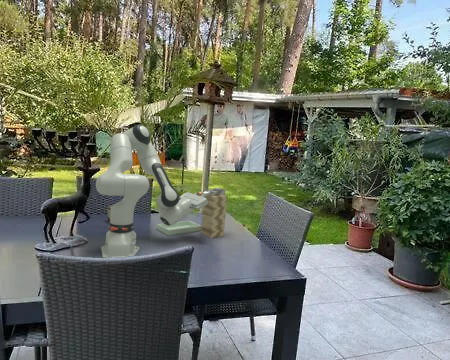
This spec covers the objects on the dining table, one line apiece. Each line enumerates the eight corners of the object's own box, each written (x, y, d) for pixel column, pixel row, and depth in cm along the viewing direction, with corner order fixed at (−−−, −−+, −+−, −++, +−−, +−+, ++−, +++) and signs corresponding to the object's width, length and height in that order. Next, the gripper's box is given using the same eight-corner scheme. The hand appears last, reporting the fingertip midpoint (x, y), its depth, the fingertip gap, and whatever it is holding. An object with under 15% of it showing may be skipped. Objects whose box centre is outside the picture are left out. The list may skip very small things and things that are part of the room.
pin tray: (168, 236, 217) (168, 230, 216) (156, 229, 227) (156, 224, 227) (201, 231, 232) (201, 225, 232) (188, 225, 243) (189, 220, 242)
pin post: (211, 237, 220) (214, 190, 216) (201, 233, 227) (204, 187, 223) (223, 235, 226) (227, 189, 222) (213, 231, 234) (217, 186, 230)
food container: (125, 224, 233) (125, 209, 232) (116, 225, 229) (117, 210, 227) (114, 220, 241) (115, 205, 240) (106, 221, 237) (106, 206, 236)
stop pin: (199, 197, 214) (199, 192, 213) (196, 196, 216) (197, 192, 215) (223, 194, 225) (223, 190, 225) (220, 193, 227) (220, 189, 227)
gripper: (194, 205, 201) (212, 191, 208) (174, 198, 216) (191, 185, 223) (198, 214, 204) (216, 200, 210) (178, 206, 219) (195, 194, 226)
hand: (203, 192), depth 217 cm, fingers closed on stop pin, 2 cm apart
